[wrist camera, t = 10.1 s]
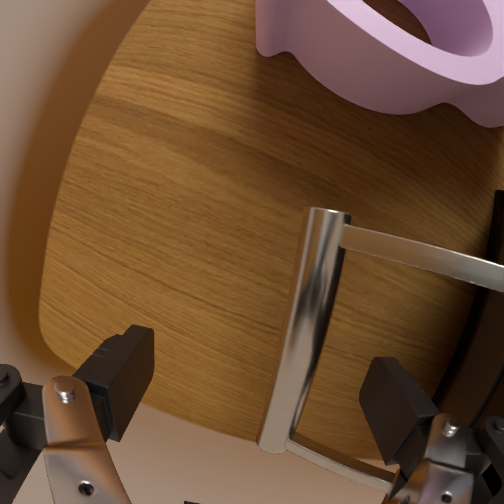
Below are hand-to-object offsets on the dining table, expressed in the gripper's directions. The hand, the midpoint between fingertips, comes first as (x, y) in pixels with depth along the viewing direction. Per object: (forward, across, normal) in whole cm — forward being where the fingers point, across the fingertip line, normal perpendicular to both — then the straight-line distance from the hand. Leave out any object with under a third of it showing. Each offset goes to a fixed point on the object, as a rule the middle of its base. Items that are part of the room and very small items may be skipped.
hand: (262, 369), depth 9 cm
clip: (+8, -8, -18) cm, 21 cm away
